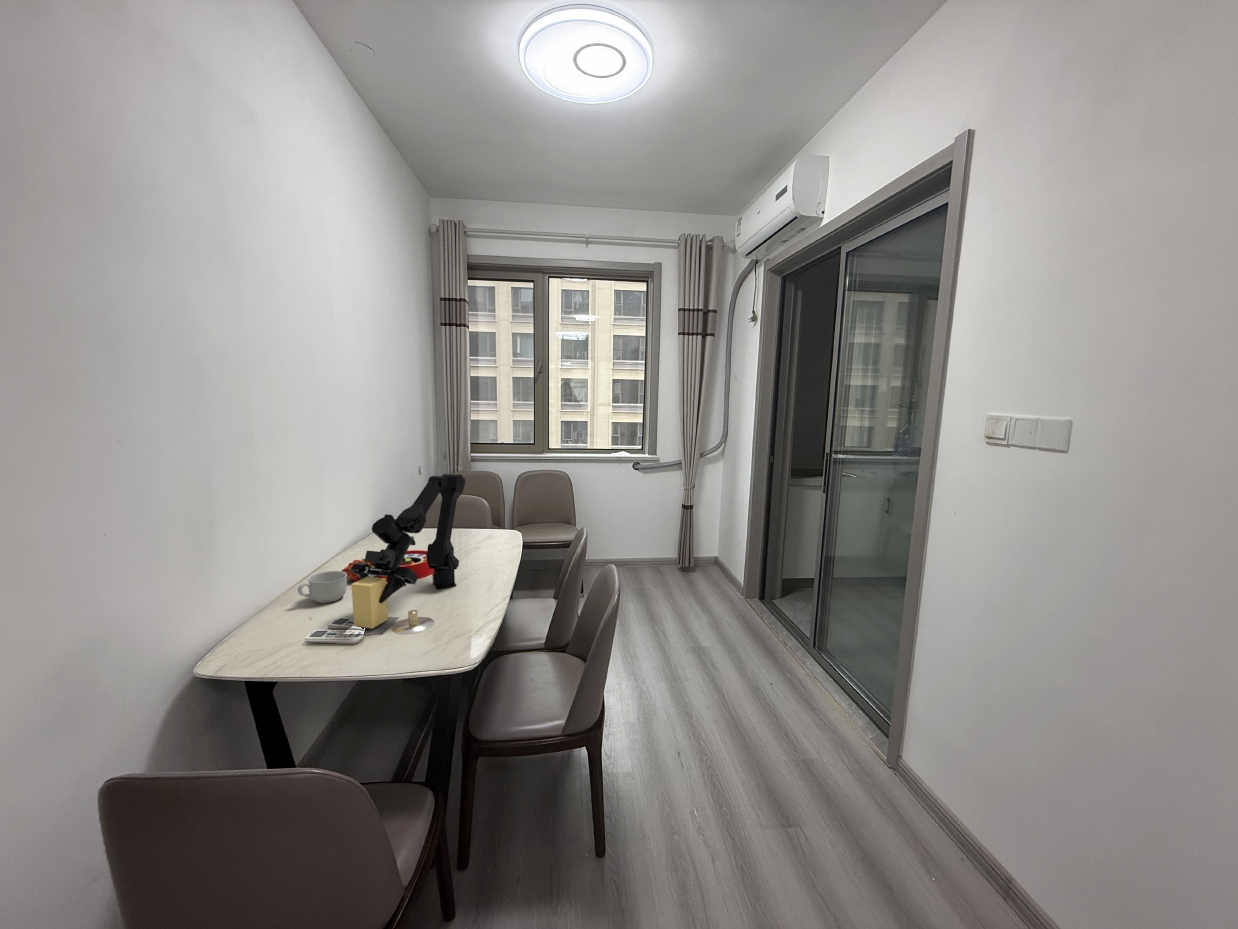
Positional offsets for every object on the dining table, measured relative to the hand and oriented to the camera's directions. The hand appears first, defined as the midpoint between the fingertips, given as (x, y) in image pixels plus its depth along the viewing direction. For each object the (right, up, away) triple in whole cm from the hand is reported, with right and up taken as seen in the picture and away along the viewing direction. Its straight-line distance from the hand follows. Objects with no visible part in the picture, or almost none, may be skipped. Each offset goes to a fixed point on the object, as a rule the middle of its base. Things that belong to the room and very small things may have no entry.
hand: (370, 601), depth 133 cm
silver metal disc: (+12, -7, +1) cm, 14 cm away
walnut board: (+6, -8, +1) cm, 10 cm away
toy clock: (-11, -3, +47) cm, 48 cm away
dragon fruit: (-24, -4, +38) cm, 45 cm away
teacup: (-25, -6, +20) cm, 33 cm away
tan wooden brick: (0, -6, +1) cm, 6 cm away
